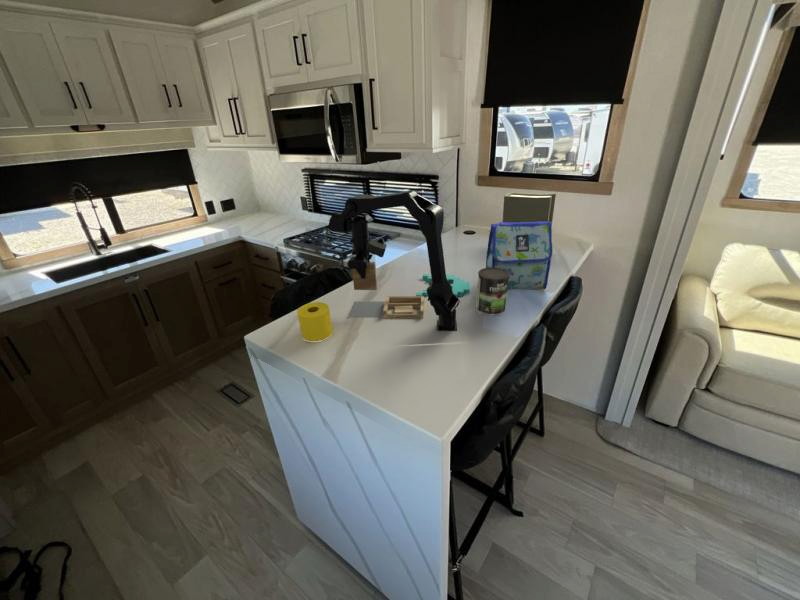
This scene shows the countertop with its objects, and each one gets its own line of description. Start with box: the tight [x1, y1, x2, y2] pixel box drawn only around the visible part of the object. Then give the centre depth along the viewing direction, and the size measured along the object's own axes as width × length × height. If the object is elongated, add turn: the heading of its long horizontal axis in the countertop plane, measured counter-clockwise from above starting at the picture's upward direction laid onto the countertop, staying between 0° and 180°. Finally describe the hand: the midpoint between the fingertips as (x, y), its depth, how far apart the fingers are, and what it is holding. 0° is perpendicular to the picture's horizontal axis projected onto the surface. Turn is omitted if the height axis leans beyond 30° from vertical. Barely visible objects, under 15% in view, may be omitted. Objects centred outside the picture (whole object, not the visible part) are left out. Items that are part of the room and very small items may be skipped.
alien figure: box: [415, 273, 471, 298], centre depth 143 cm, size 20×2×20 cm
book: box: [502, 192, 557, 226], centre depth 170 cm, size 22×9×28 cm, turn 55°
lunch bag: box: [485, 221, 553, 291], centre depth 136 cm, size 22×17×26 cm
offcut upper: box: [394, 306, 414, 314], centre depth 127 cm, size 4×6×1 cm, turn 90°
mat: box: [347, 300, 386, 319], centre depth 130 cm, size 12×12×1 cm
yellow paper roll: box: [296, 301, 334, 341], centre depth 115 cm, size 10×10×9 cm
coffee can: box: [475, 267, 509, 317], centre depth 124 cm, size 10×10×14 cm
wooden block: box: [351, 261, 378, 291], centre depth 124 cm, size 2×8×10 cm, turn 85°
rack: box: [382, 295, 425, 319], centre depth 128 cm, size 11×14×3 cm
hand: (364, 277), depth 124 cm, fingers closed on wooden block, 2 cm apart
